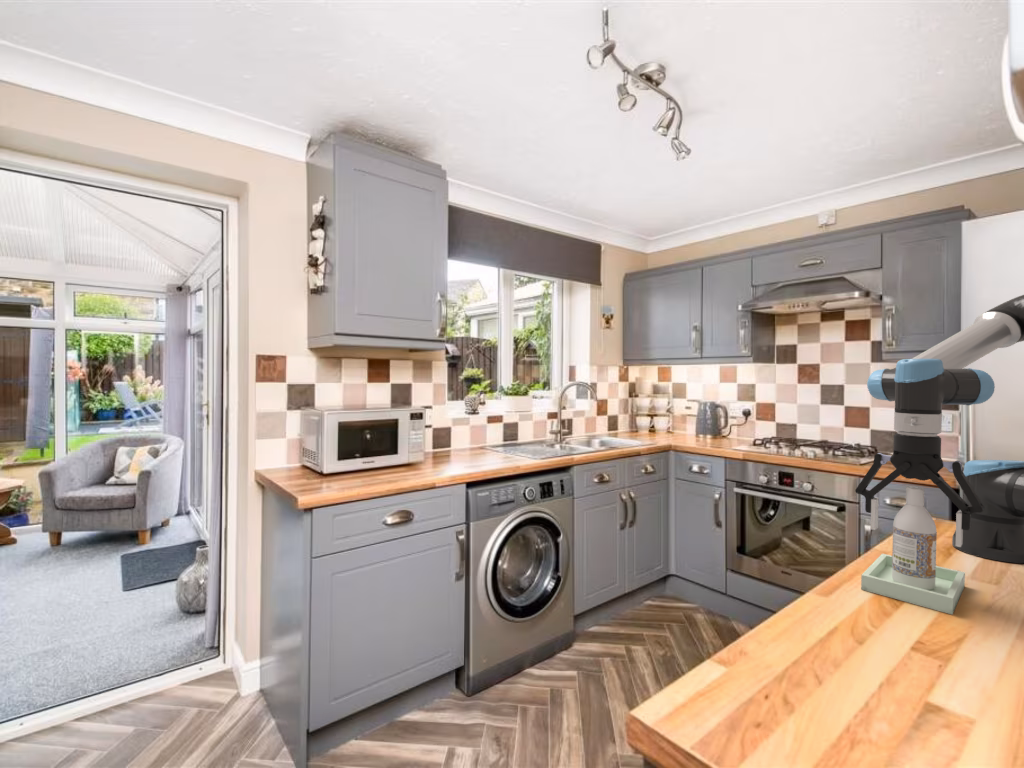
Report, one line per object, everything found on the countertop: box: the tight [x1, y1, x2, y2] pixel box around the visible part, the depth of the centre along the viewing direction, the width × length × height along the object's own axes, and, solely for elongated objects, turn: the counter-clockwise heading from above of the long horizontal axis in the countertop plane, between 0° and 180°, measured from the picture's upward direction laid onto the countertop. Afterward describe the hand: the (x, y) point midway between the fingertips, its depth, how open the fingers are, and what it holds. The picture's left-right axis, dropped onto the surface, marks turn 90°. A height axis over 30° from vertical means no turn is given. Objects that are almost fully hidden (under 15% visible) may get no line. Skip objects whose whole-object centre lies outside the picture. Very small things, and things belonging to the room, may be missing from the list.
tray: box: [860, 553, 966, 616], centre depth 101 cm, size 18×14×3 cm
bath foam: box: [891, 485, 938, 590], centre depth 101 cm, size 7×7×20 cm
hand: (914, 536), depth 101 cm, fingers open, 13 cm apart
